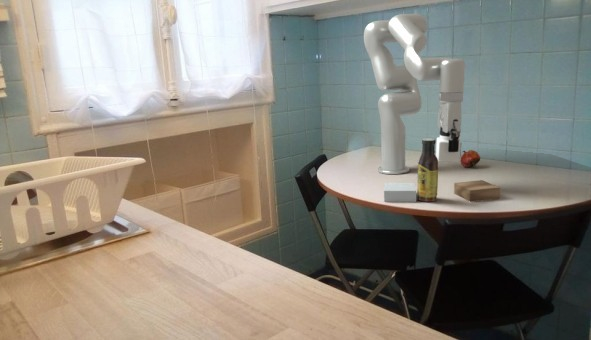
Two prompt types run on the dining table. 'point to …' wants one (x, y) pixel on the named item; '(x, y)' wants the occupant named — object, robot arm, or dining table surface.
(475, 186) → the walnut block
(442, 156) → the medicine bottle
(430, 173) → the sauce bottle
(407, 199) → the grey block
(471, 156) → the pomegranate
